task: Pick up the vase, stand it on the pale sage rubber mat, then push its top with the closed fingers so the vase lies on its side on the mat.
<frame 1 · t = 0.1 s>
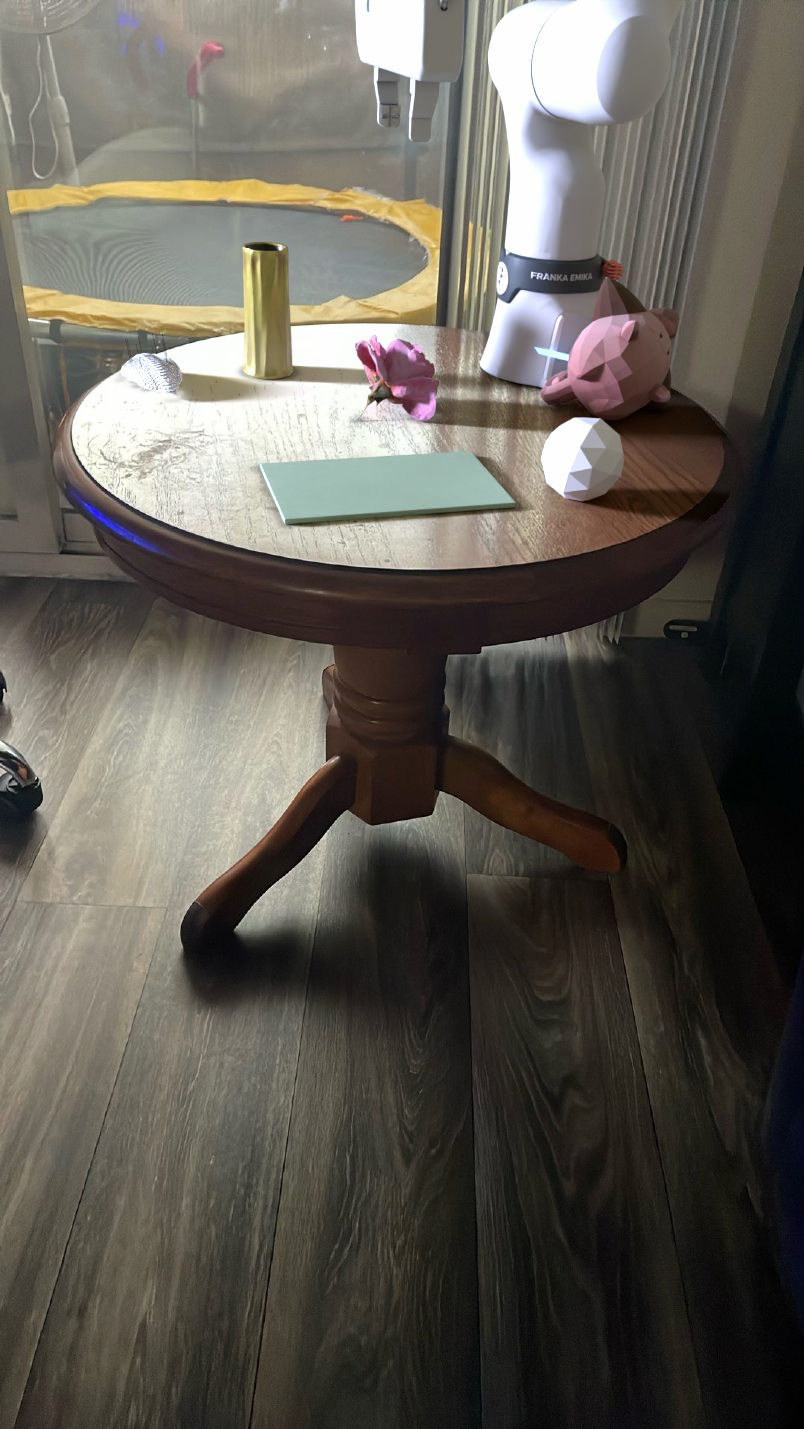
hand: (402, 133, 91), 29 cm above the table, tool pointing down, fingers open, 8 cm apart
toy: (575, 398, 115), point 3 cm above the table
pincushion: (154, 386, 120), on the table
geometric ball: (576, 497, 100), on the table
vase: (268, 373, 126), on the table
flower: (395, 411, 117), on the table
mat: (384, 487, 99), on the table
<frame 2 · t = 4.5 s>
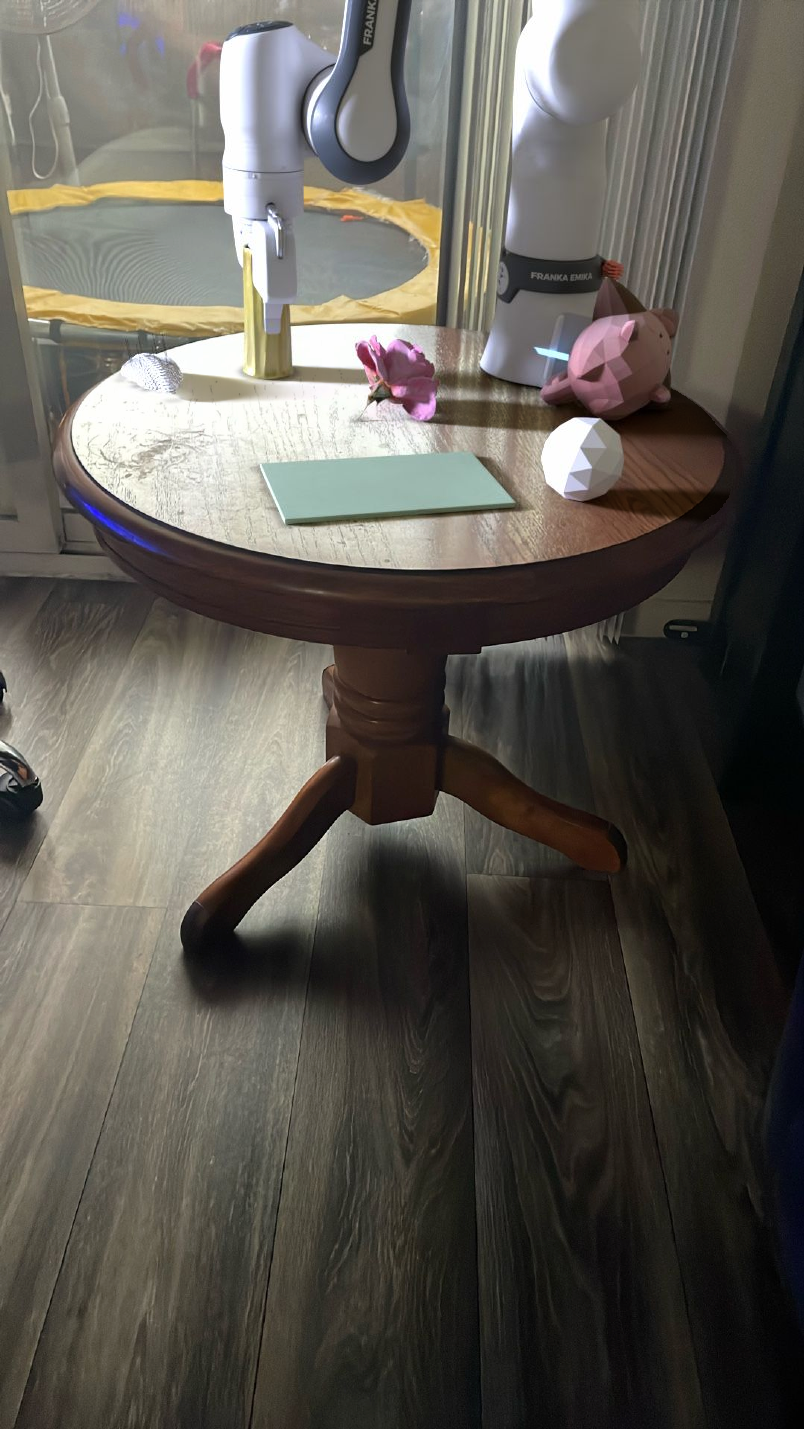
hand: (266, 324, 122), 6 cm above the table, tool pointing down, fingers closed on vase, 5 cm apart
vase: (268, 373, 126), on the table, touching gripper
everything else where it was.
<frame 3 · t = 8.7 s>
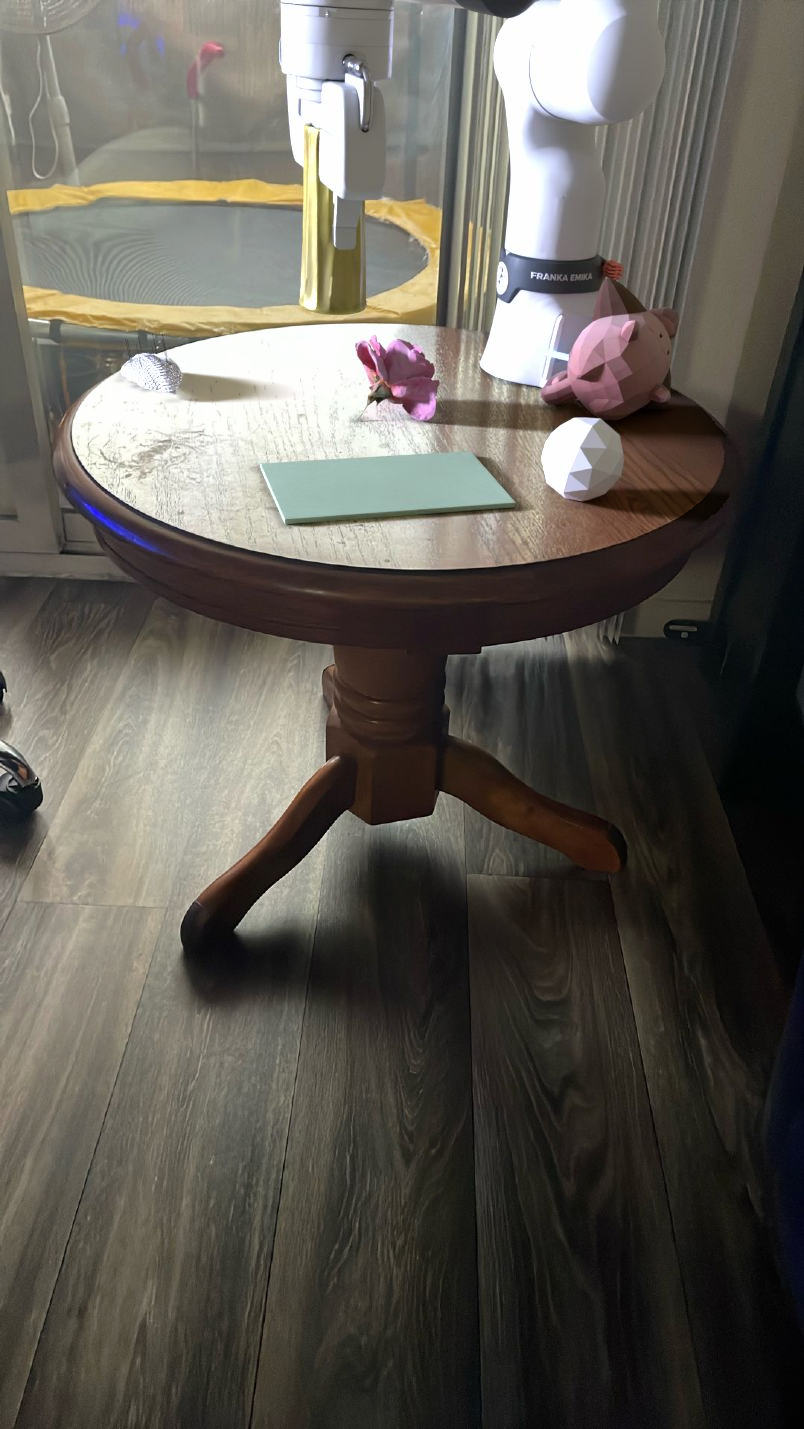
hand: (334, 239, 89), 21 cm above the table, tool pointing down, fingers closed on vase, 5 cm apart
vase: (332, 309, 93), point 15 cm above the table, touching gripper
everything else where it was.
when the fingers open (6 cm above the table, at t = 13.0 s): vase stays where it is, resting on mat.
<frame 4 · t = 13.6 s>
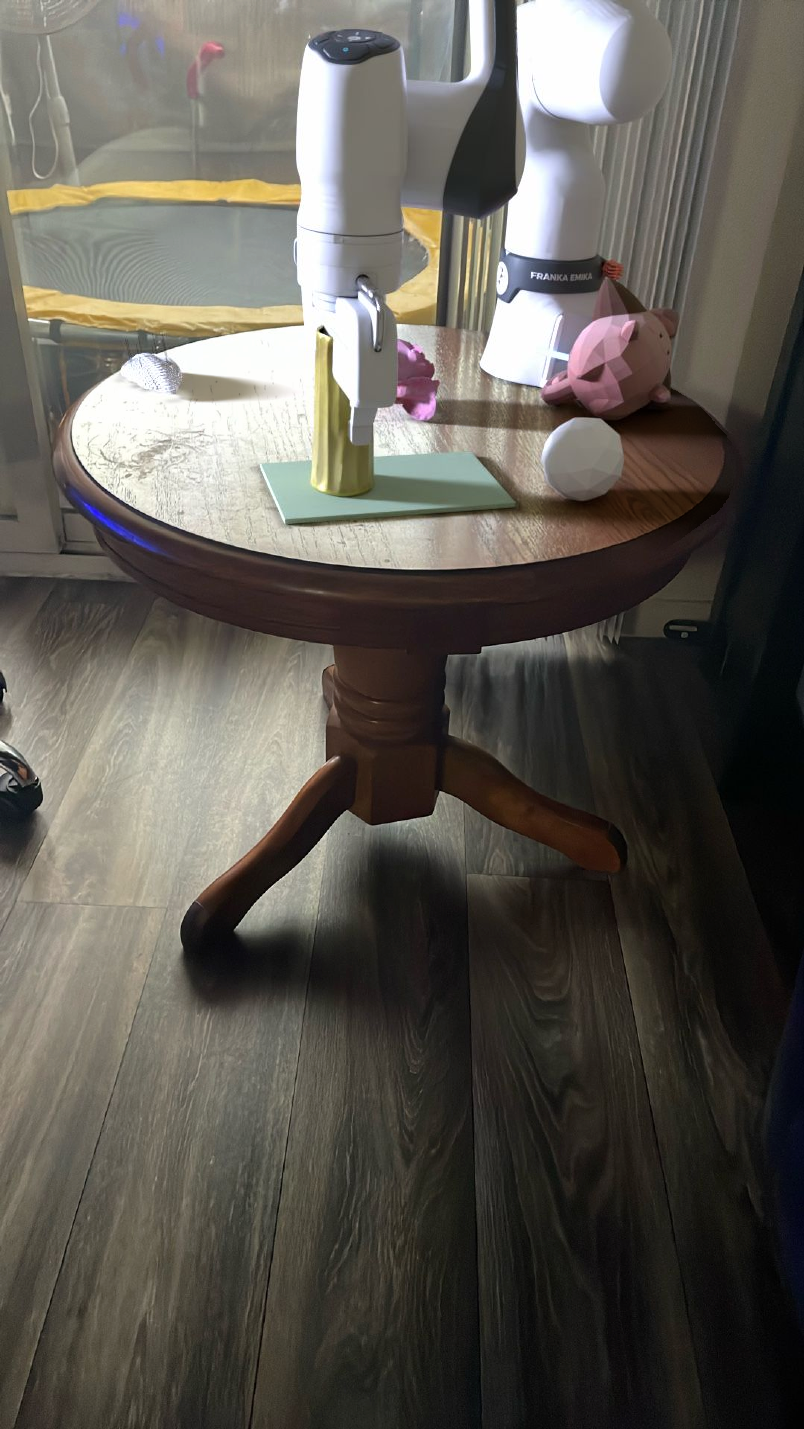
hand: (346, 423, 94), 6 cm above the table, tool pointing down, fingers open, 8 cm apart
vase: (342, 486, 98), resting on mat
everything else where it was.
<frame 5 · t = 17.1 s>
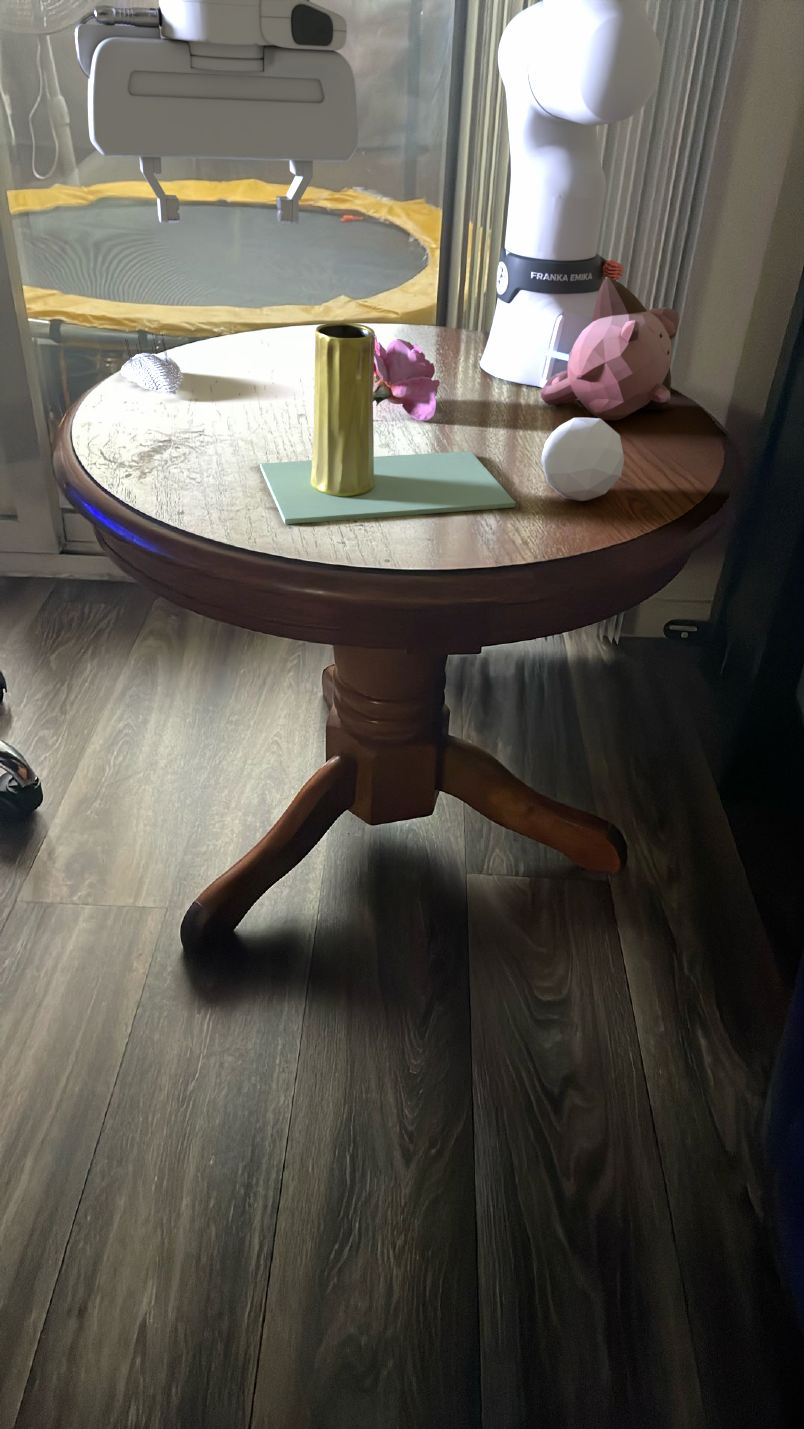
hand: (229, 222, 82), 23 cm above the table, tool pointing down, fingers open, 8 cm apart
nothing on the table moved.
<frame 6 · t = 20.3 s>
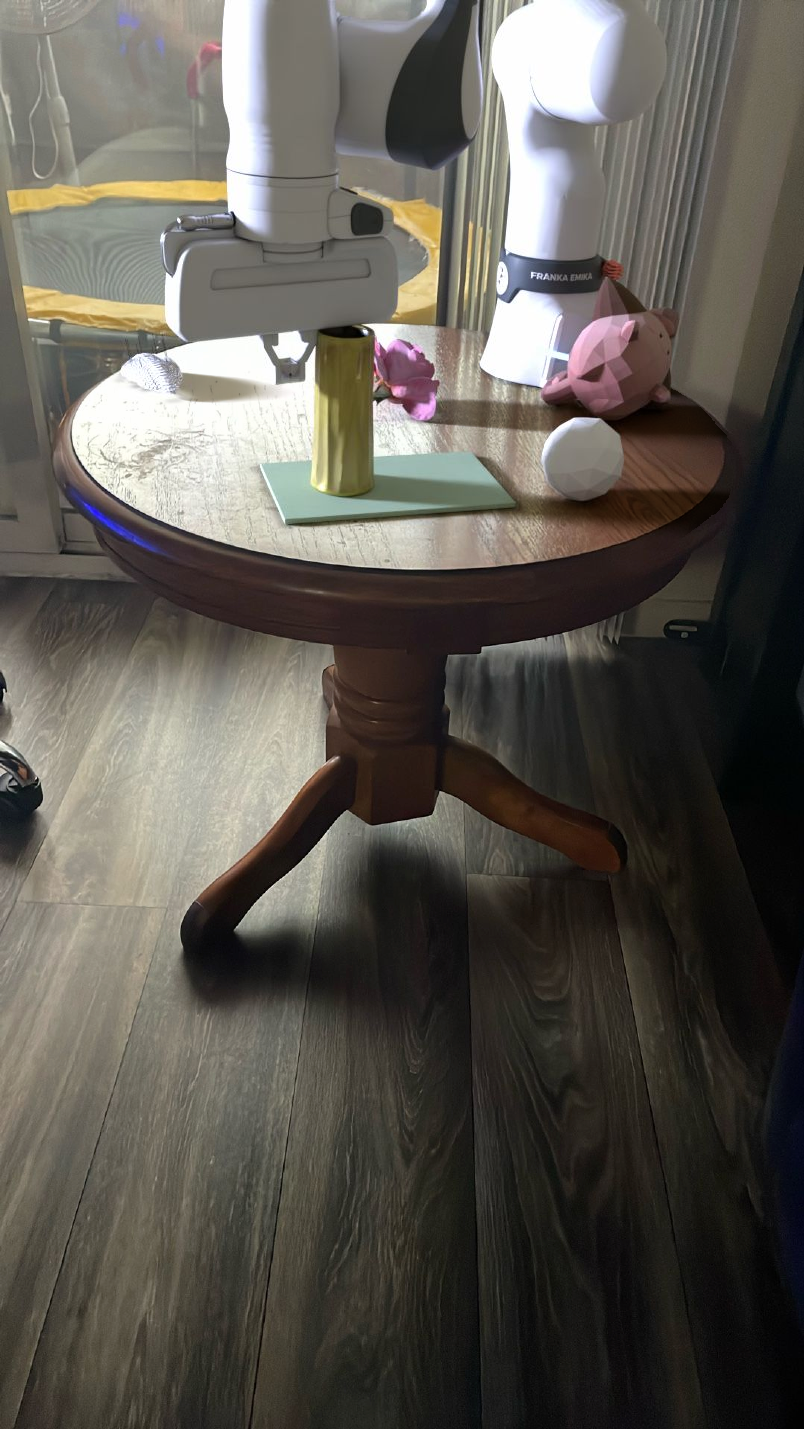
hand: (286, 381, 91), 11 cm above the table, tool pointing down, fingers closed
vase: (342, 486, 98), resting on mat, touching gripper
everything else where it was.
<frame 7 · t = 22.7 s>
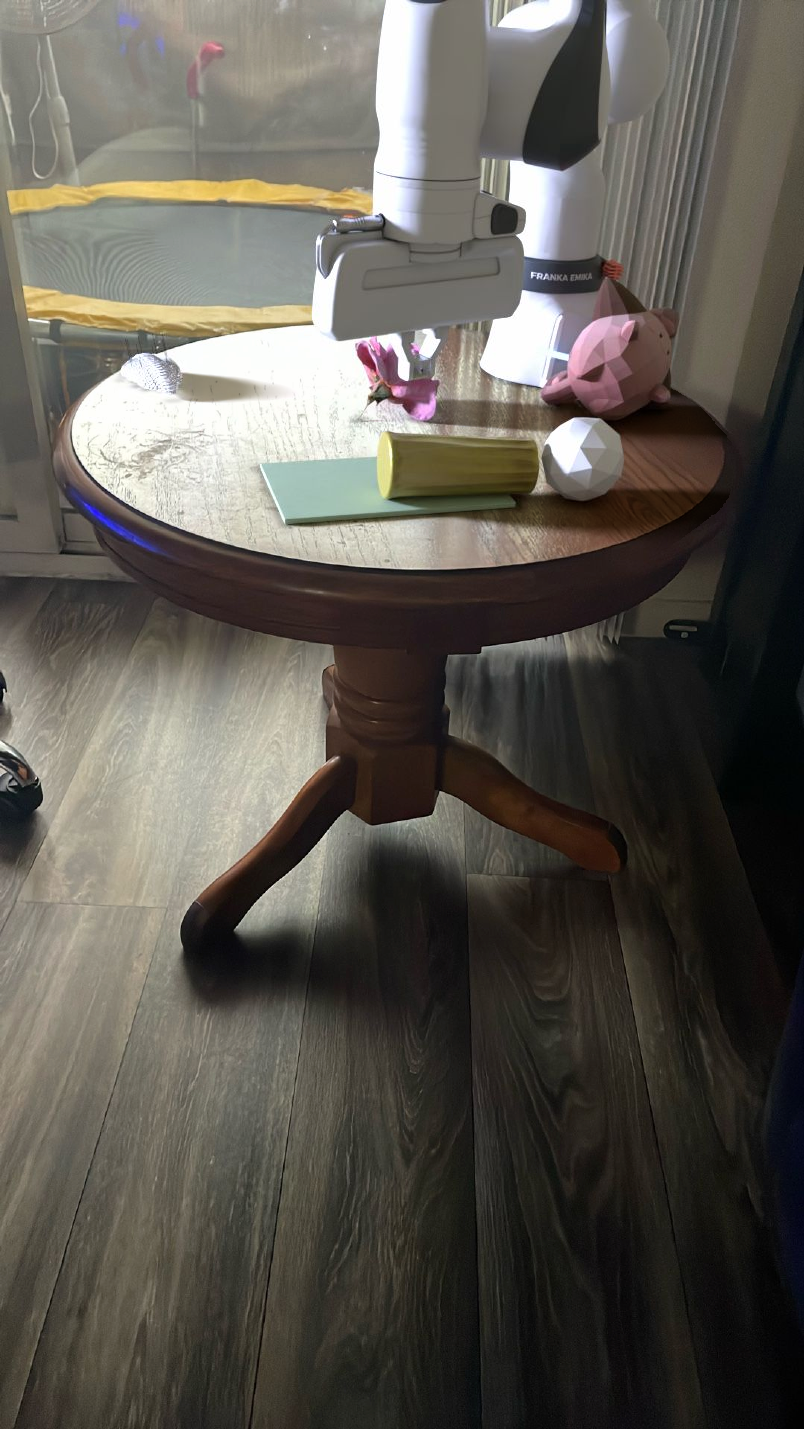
hand: (416, 377, 94), 10 cm above the table, tool pointing down, fingers closed
vase: (381, 465, 94), point 4 cm above the table, touching mat
everything else where it was.
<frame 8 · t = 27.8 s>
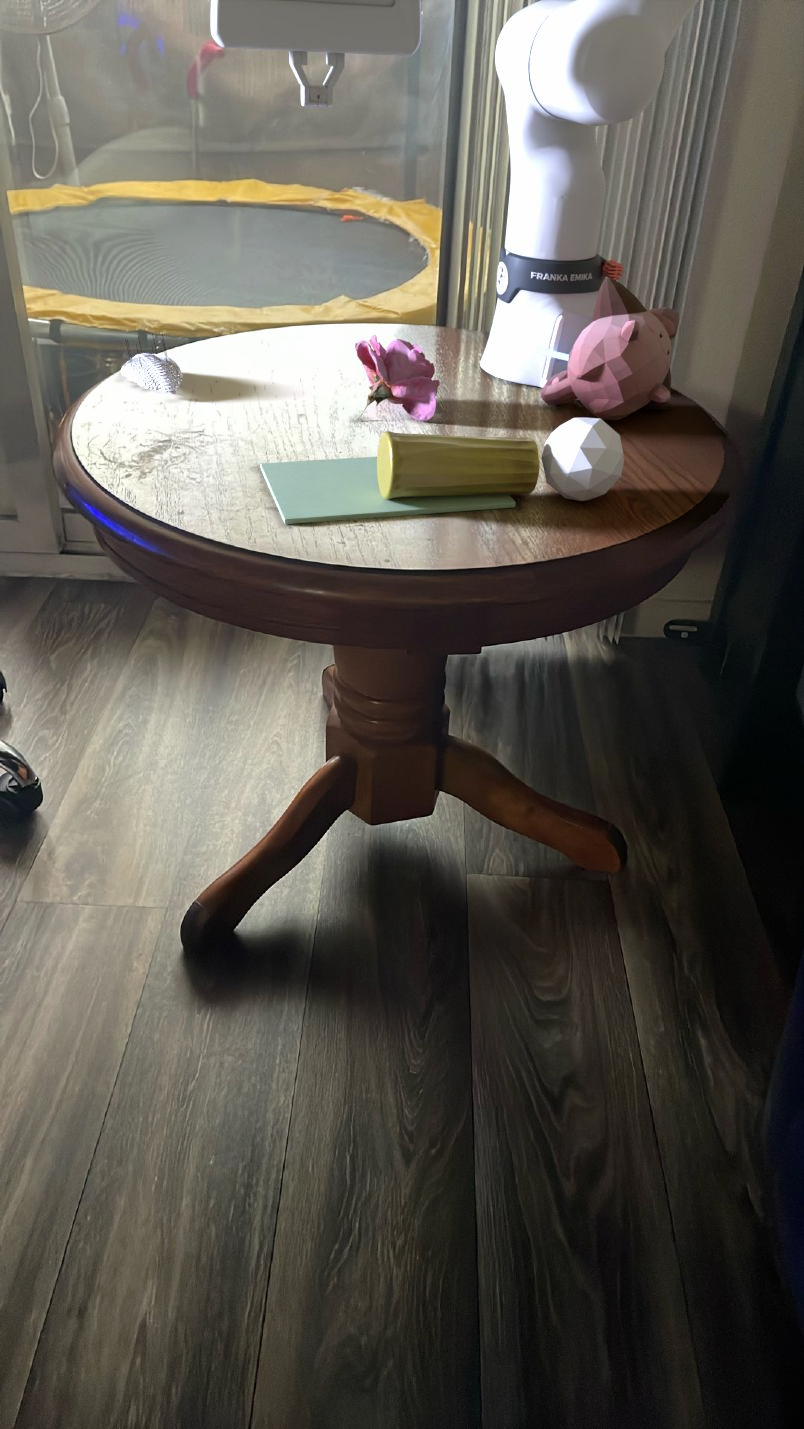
hand: (316, 106, 103), 29 cm above the table, tool pointing down, fingers closed
nothing on the table moved.
at the end: vase tilted 92°; vase inside the target area on the mat (3.5 cm from its centre), point 3.6 cm above the mat's base; the gripper is holding nothing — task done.
